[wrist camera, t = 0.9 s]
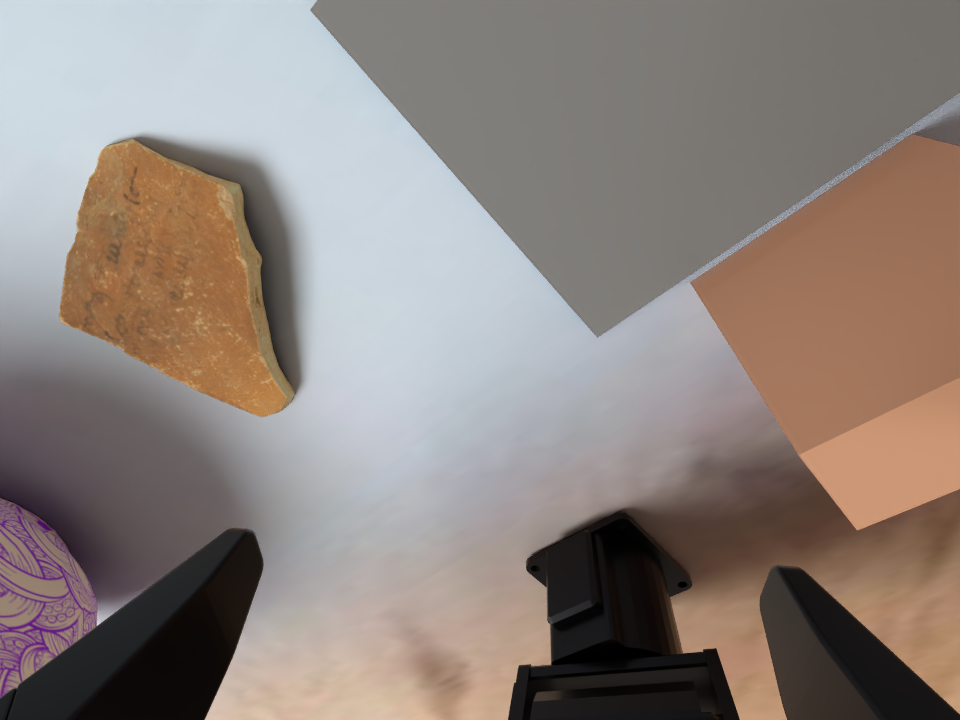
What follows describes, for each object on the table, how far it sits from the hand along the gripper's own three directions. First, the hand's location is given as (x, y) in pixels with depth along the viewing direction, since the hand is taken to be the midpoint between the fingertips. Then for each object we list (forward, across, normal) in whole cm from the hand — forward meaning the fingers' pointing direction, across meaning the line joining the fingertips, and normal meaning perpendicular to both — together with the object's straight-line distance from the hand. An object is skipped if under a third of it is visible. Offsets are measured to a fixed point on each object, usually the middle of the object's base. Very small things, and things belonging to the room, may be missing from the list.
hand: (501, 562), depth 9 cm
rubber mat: (+13, -4, -9) cm, 16 cm away
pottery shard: (+14, +13, 0) cm, 19 cm away
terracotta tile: (+14, -10, -2) cm, 17 cm away
